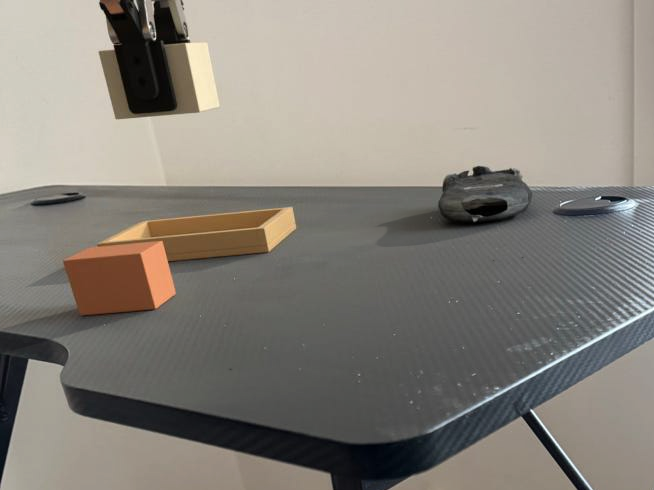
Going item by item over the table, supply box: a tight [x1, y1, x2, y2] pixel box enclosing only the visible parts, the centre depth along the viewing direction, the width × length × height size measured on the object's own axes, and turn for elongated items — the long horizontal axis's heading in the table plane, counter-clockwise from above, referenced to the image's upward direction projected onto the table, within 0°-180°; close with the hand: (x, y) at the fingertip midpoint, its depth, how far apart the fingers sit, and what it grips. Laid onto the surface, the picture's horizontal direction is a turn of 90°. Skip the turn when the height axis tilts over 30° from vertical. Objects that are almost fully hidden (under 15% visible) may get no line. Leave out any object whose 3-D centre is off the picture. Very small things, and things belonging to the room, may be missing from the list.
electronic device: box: [437, 165, 533, 224], centre depth 93 cm, size 9×6×15 cm
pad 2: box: [62, 241, 177, 317], centre depth 71 cm, size 6×5×4 cm
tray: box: [96, 206, 297, 262], centre depth 92 cm, size 16×13×2 cm
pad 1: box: [98, 41, 221, 120], centre depth 64 cm, size 6×5×4 cm
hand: (167, 106), depth 65 cm, fingers closed on pad 1, 5 cm apart
